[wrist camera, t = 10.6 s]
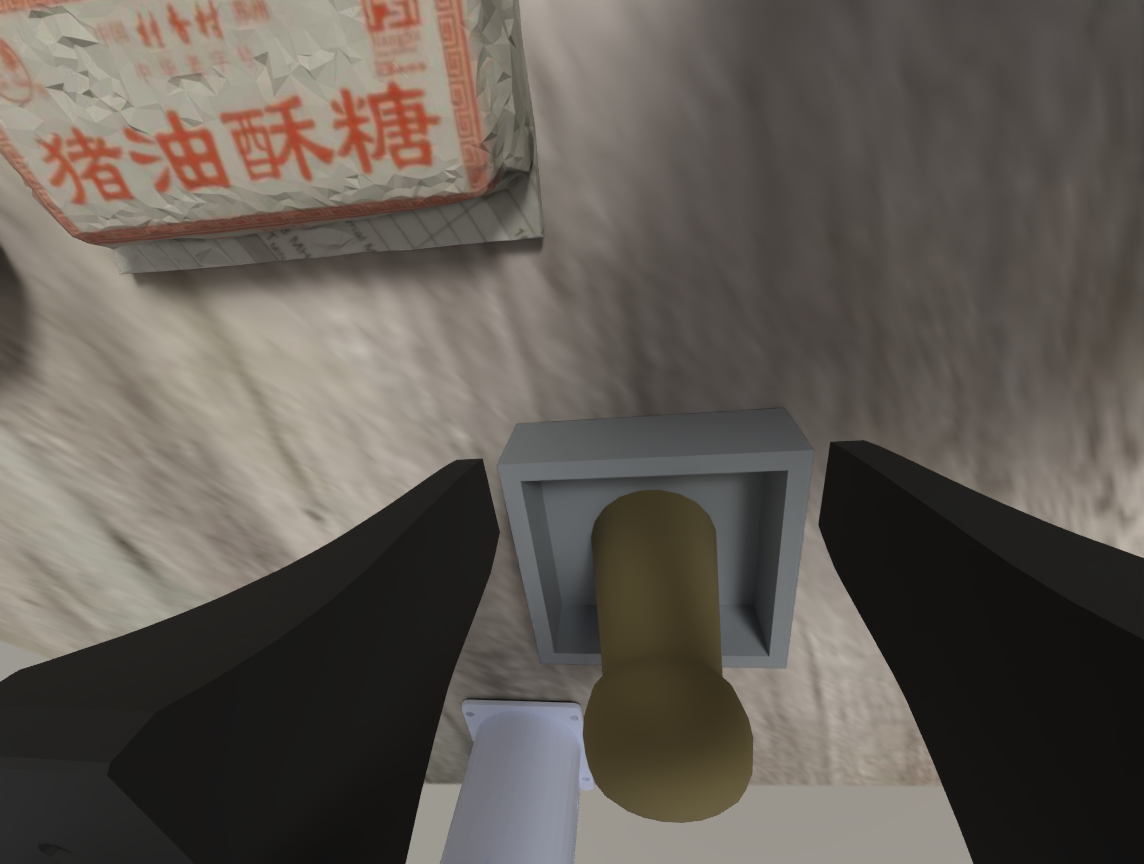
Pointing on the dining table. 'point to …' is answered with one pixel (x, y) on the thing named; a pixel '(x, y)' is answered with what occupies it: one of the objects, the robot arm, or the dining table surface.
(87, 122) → the packaged product
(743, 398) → the dining table surface
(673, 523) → the cork
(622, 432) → the tote
